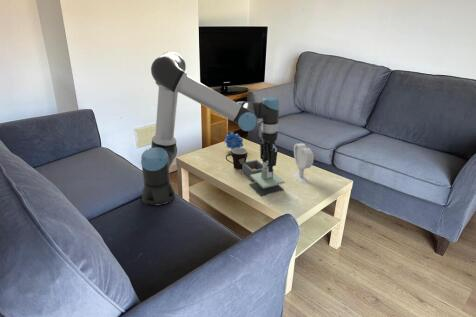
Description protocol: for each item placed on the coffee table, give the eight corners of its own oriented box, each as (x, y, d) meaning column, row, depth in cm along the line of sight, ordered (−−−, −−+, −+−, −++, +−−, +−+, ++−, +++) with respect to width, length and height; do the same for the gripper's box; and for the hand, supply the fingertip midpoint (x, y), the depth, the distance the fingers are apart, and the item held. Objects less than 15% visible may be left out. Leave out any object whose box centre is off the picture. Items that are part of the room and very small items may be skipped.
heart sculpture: (290, 171, 188) (293, 141, 180) (298, 170, 189) (301, 140, 182) (302, 185, 175) (306, 153, 167) (311, 184, 176) (315, 152, 168)
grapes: (224, 153, 208) (224, 135, 203) (224, 148, 215) (224, 131, 209) (243, 153, 209) (243, 135, 204) (242, 149, 215) (243, 131, 210)
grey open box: (251, 181, 177) (252, 171, 175) (242, 172, 186) (242, 162, 184) (266, 178, 181) (267, 167, 178) (256, 169, 190) (256, 159, 187)
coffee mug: (247, 164, 196) (248, 148, 191) (246, 171, 188) (246, 154, 184) (227, 162, 197) (227, 146, 192) (225, 169, 189) (225, 153, 185)
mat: (261, 196, 164) (261, 195, 164) (249, 185, 174) (249, 184, 174) (283, 190, 170) (283, 189, 170) (270, 179, 179) (271, 178, 179)
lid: (263, 188, 162) (263, 177, 160) (250, 176, 173) (250, 166, 170) (284, 183, 167) (285, 172, 165) (270, 171, 178) (271, 161, 175)
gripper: (286, 135, 154) (282, 181, 164) (267, 124, 167) (265, 167, 177) (271, 138, 151) (269, 184, 161) (254, 126, 164) (252, 170, 174)
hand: (267, 175), depth 169 cm, fingers closed on lid, 3 cm apart
